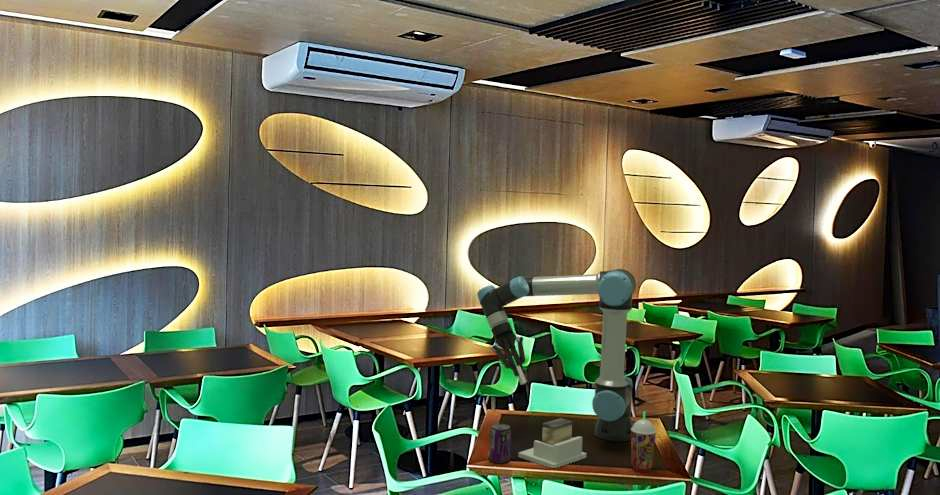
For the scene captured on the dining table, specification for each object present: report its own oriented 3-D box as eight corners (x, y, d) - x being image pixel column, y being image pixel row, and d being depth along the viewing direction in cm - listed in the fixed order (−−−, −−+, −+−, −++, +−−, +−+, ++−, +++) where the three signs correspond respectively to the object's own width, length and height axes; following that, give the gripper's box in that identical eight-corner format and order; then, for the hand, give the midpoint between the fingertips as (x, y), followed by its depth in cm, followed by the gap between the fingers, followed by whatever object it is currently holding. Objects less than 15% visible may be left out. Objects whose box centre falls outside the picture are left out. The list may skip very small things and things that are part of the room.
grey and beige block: (541, 454, 275) (542, 423, 274) (559, 448, 282) (560, 418, 282) (552, 458, 272) (554, 427, 271) (571, 452, 279) (572, 421, 278)
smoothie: (649, 475, 263) (652, 416, 261) (625, 470, 267) (628, 412, 266) (657, 468, 270) (660, 410, 268) (634, 463, 274) (636, 406, 273)
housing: (518, 456, 278) (519, 435, 277) (551, 445, 290) (551, 425, 290) (553, 469, 266) (554, 447, 266) (586, 457, 279) (587, 436, 278)
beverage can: (508, 465, 269) (509, 430, 268) (487, 463, 271) (488, 428, 270) (511, 458, 276) (512, 424, 275) (491, 456, 278) (492, 422, 277)
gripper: (512, 323, 306) (535, 380, 299) (481, 333, 301) (505, 391, 294) (517, 317, 300) (542, 375, 292) (487, 326, 295) (511, 385, 287)
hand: (523, 383), depth 293 cm, fingers closed
